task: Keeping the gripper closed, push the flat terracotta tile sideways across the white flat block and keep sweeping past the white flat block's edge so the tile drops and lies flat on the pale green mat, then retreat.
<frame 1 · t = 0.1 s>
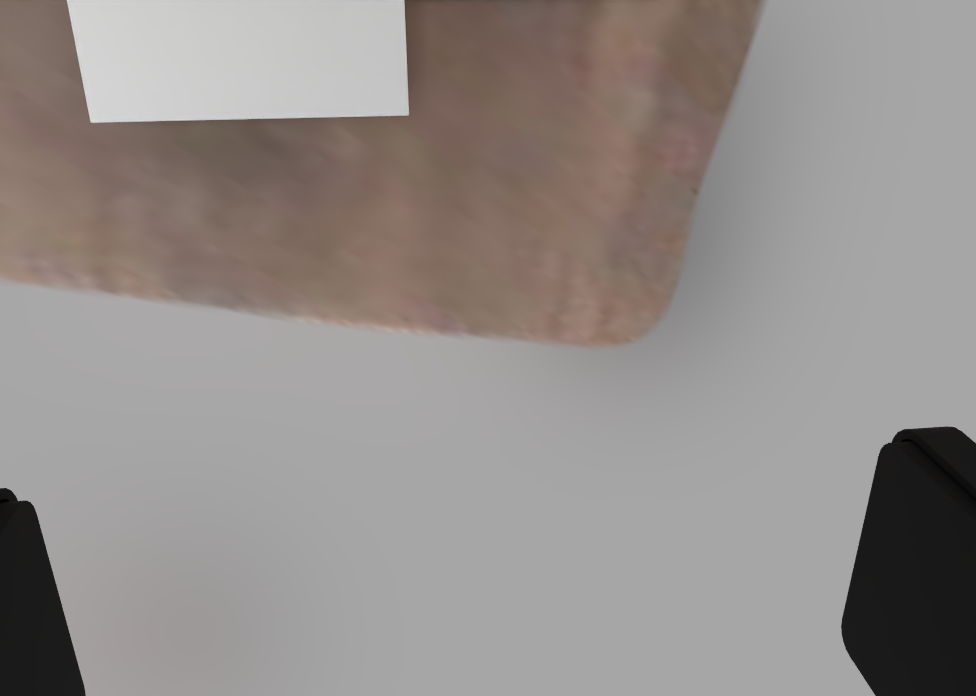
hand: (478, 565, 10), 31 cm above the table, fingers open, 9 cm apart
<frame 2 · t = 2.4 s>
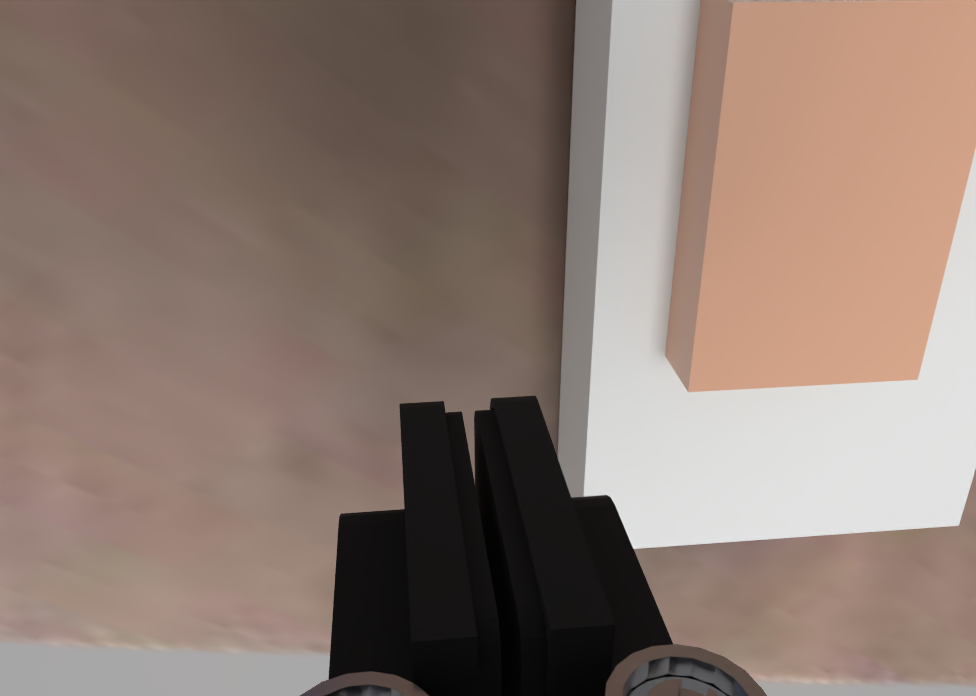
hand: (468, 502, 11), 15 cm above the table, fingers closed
tile: (799, 188, 22), point 4 cm above the table, touching white flat block
white flat block: (773, 148, 25), on the table
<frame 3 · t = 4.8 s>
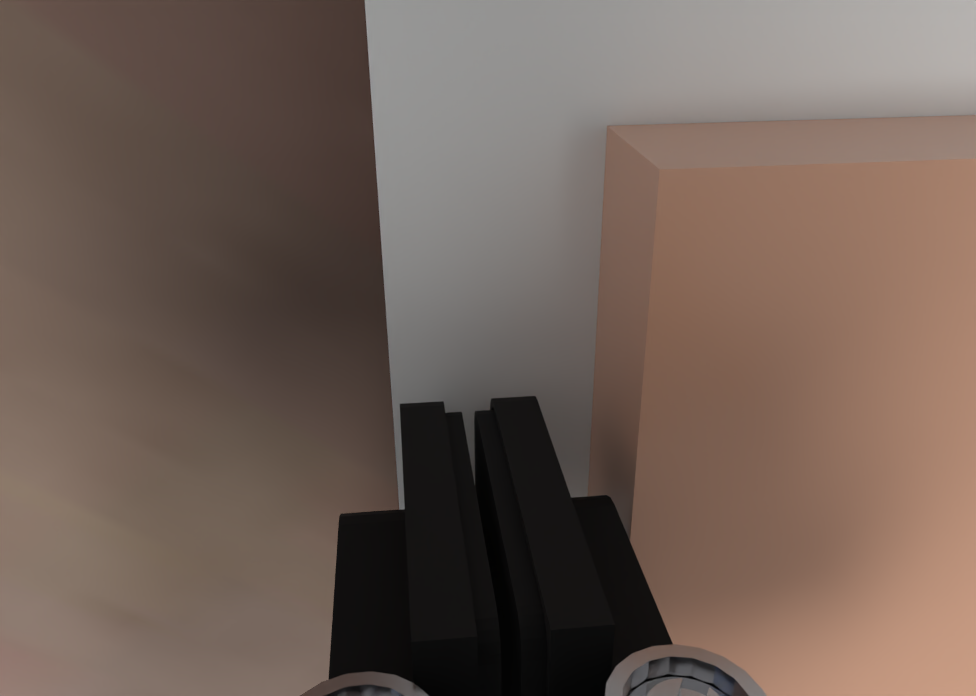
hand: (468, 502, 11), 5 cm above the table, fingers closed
tile: (805, 453, 12), point 4 cm above the table, touching gripper
white flat block: (731, 328, 15), on the table
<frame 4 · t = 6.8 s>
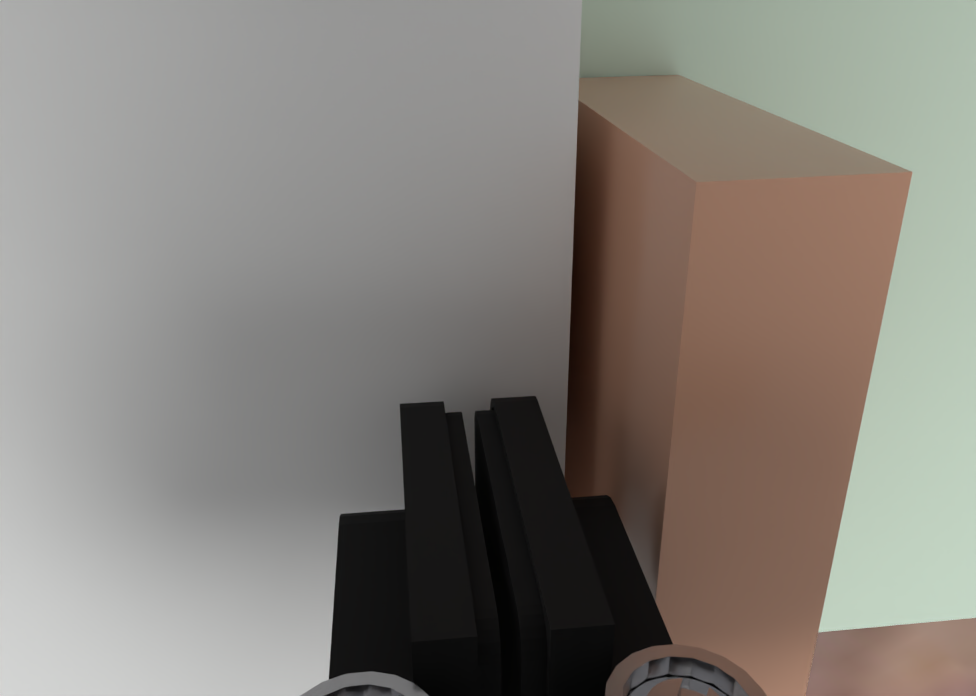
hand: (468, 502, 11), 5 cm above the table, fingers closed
tile: (586, 447, 12), point 3 cm above the table, tilted 92°, touching gripper, mat
white flat block: (164, 360, 14), on the table
mat: (831, 271, 15), on the table
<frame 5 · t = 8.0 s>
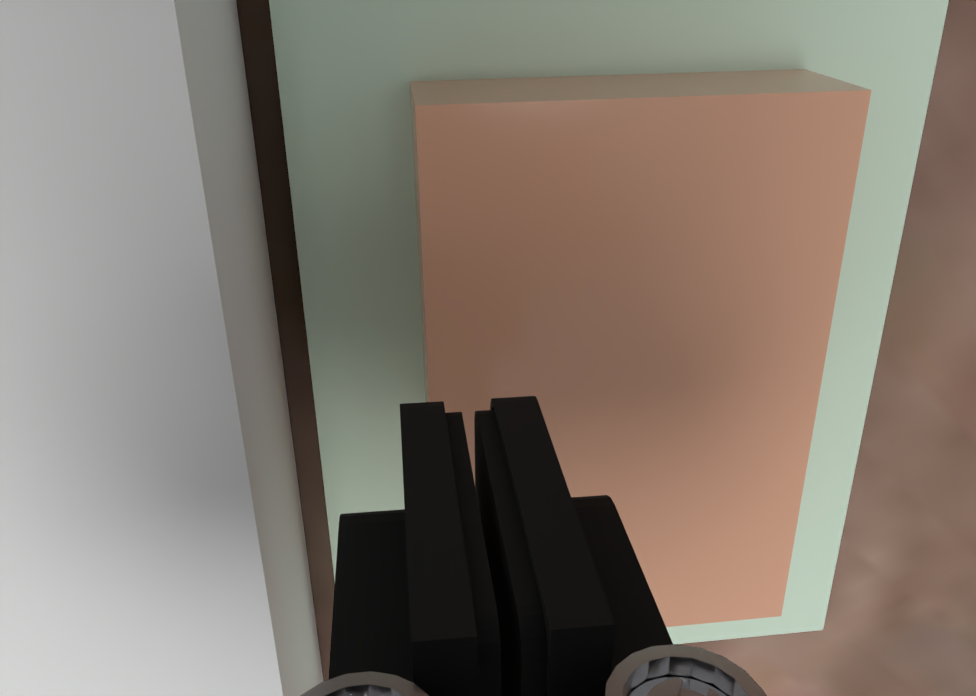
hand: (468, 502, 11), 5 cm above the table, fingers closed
tile: (629, 404, 13), point 2 cm above the table, tilted 180°, touching mat
mat: (603, 281, 15), on the table
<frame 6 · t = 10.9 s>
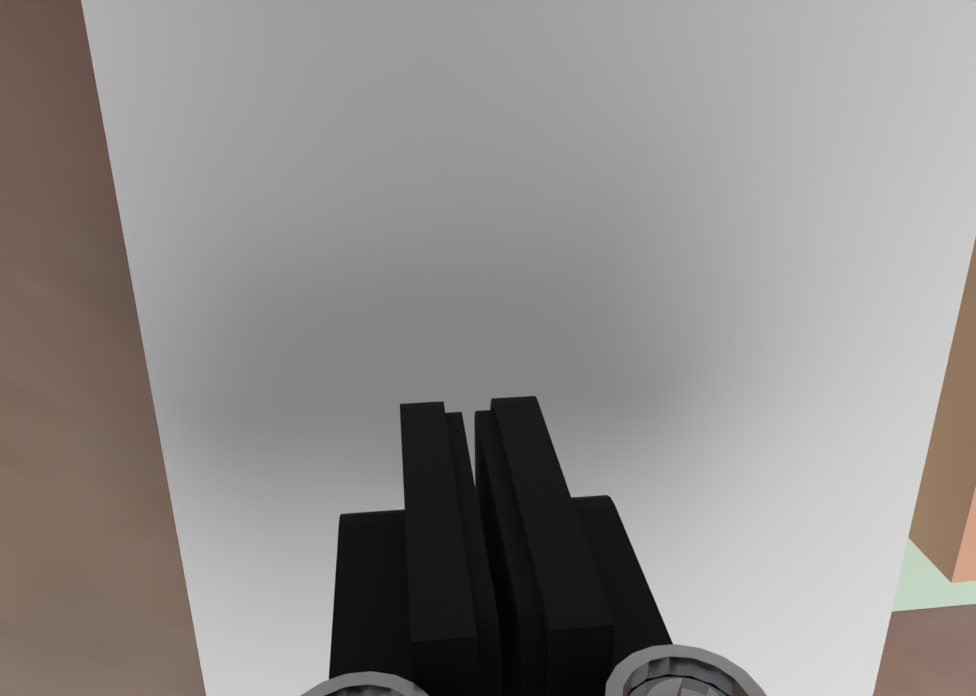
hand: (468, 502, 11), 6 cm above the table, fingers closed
white flat block: (526, 353, 17), on the table
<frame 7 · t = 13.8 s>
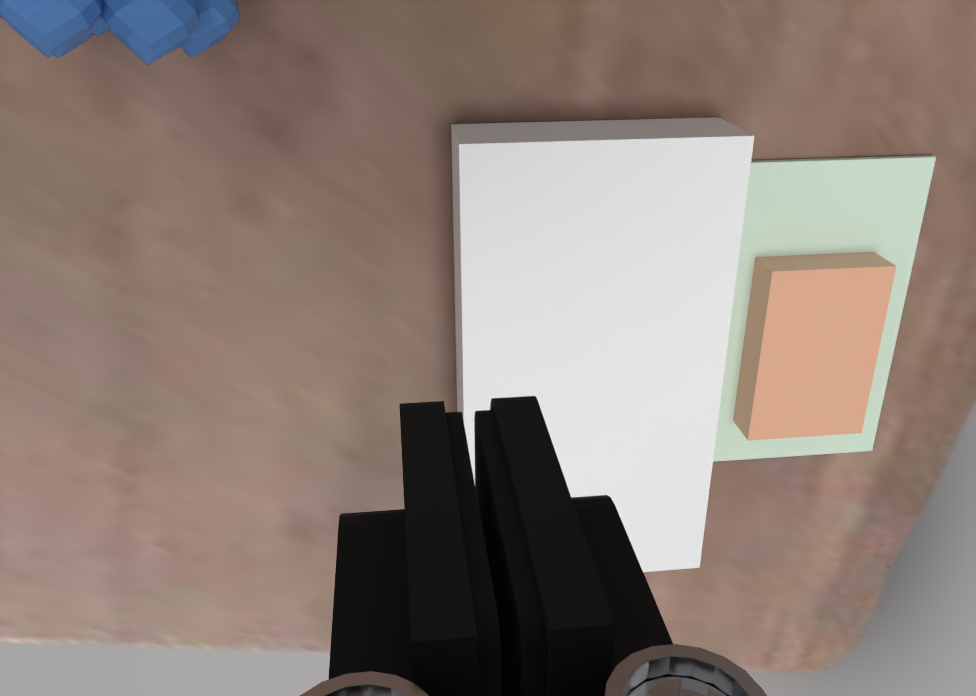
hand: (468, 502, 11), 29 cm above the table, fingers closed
tile: (819, 356, 42), point 2 cm above the table, tilted 180°, touching mat
white flat block: (577, 346, 43), on the table
mat: (803, 317, 44), on the table
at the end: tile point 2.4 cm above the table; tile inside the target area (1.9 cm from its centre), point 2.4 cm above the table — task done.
